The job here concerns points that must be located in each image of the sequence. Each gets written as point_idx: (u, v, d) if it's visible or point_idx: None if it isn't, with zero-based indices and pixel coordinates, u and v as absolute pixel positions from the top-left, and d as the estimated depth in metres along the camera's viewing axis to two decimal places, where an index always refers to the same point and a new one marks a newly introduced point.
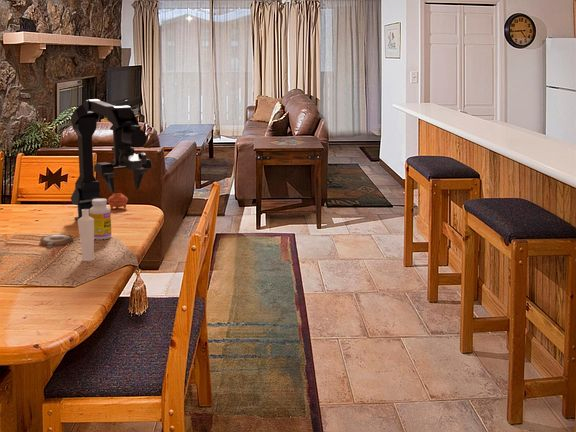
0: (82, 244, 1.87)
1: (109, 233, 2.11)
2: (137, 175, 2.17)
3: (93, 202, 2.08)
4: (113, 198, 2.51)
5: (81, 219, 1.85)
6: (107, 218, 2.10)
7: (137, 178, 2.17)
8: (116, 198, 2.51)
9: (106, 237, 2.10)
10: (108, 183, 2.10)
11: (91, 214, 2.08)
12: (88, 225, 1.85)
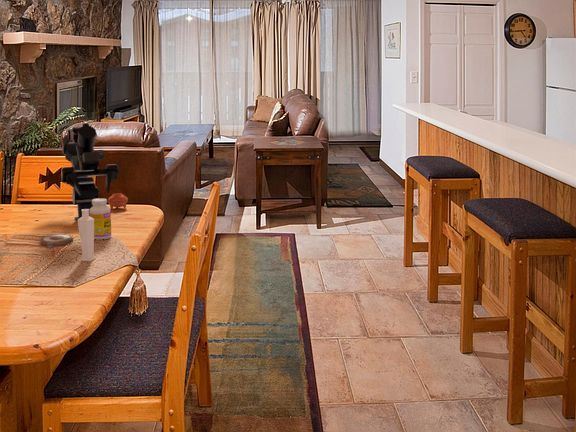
0: (82, 244, 1.87)
1: (109, 233, 2.11)
2: (106, 180, 2.21)
3: (93, 202, 2.08)
4: (113, 198, 2.51)
5: (81, 219, 1.85)
6: (107, 218, 2.10)
7: (106, 182, 2.20)
8: (116, 198, 2.51)
9: (106, 237, 2.10)
10: (75, 187, 2.16)
11: (91, 214, 2.08)
12: (88, 225, 1.85)
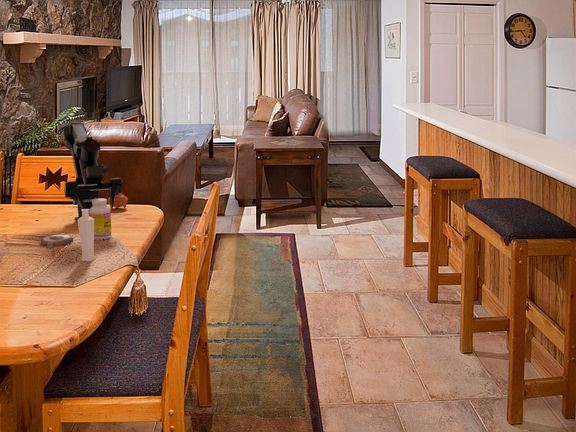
0: (82, 244, 1.87)
1: (109, 233, 2.11)
2: (110, 194, 2.16)
3: (93, 202, 2.08)
4: None
5: (81, 219, 1.85)
6: (107, 218, 2.10)
7: (110, 196, 2.16)
8: (116, 198, 2.51)
9: (106, 237, 2.10)
10: (78, 202, 2.12)
11: (91, 214, 2.08)
12: (88, 225, 1.85)
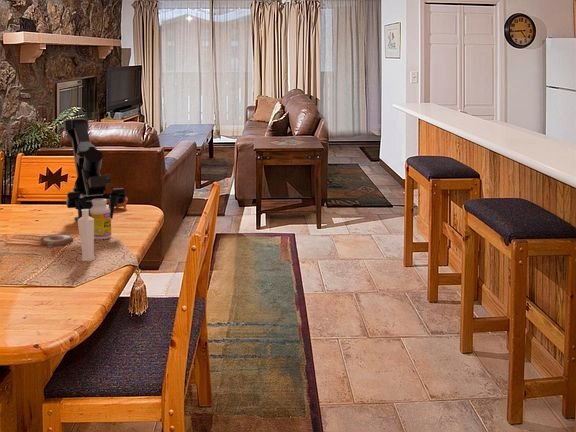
0: (82, 244, 1.87)
1: (109, 233, 2.11)
2: (110, 205, 2.13)
3: (93, 202, 2.08)
4: None
5: (81, 219, 1.85)
6: (107, 218, 2.10)
7: (110, 207, 2.13)
8: None
9: (106, 237, 2.10)
10: None
11: (91, 214, 2.08)
12: (88, 225, 1.85)
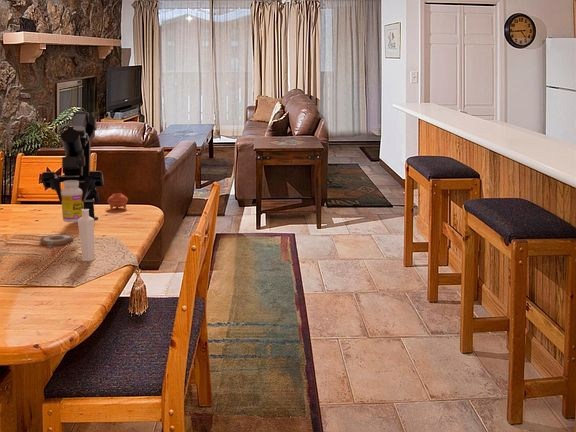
0: (82, 244, 1.87)
1: (79, 217, 2.05)
2: None
3: (63, 183, 2.03)
4: (113, 198, 2.51)
5: (81, 219, 1.85)
6: (77, 201, 2.03)
7: None
8: (116, 198, 2.51)
9: (76, 220, 2.04)
10: None
11: (61, 195, 2.03)
12: (88, 225, 1.85)
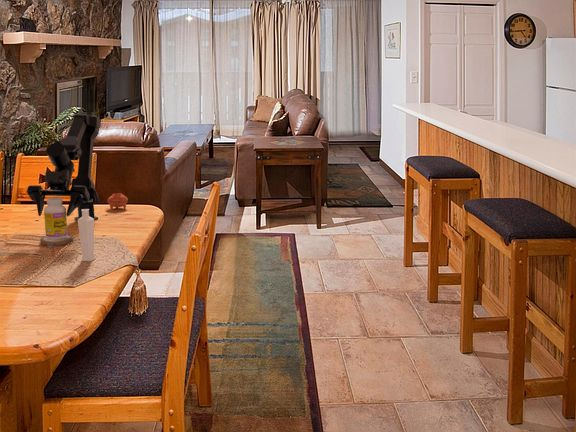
0: (82, 244, 1.87)
1: (61, 234, 2.04)
2: None
3: None
4: (113, 198, 2.51)
5: (81, 219, 1.85)
6: (58, 218, 2.03)
7: None
8: (116, 198, 2.51)
9: (56, 238, 2.04)
10: None
11: (44, 212, 2.04)
12: (88, 225, 1.85)
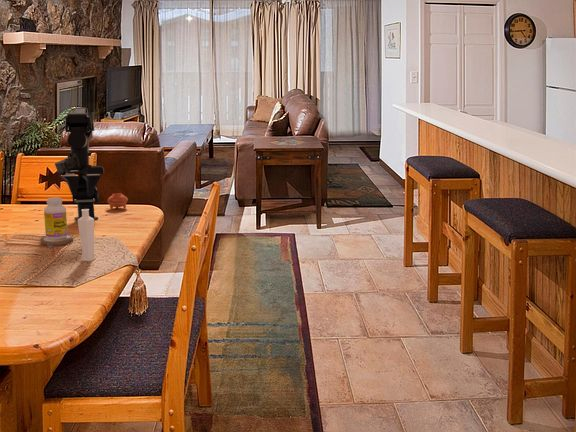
0: (82, 244, 1.87)
1: (61, 234, 2.04)
2: None
3: None
4: (113, 198, 2.51)
5: (81, 219, 1.85)
6: (58, 218, 2.03)
7: None
8: (116, 198, 2.51)
9: (56, 238, 2.04)
10: None
11: (44, 213, 2.04)
12: (88, 225, 1.85)
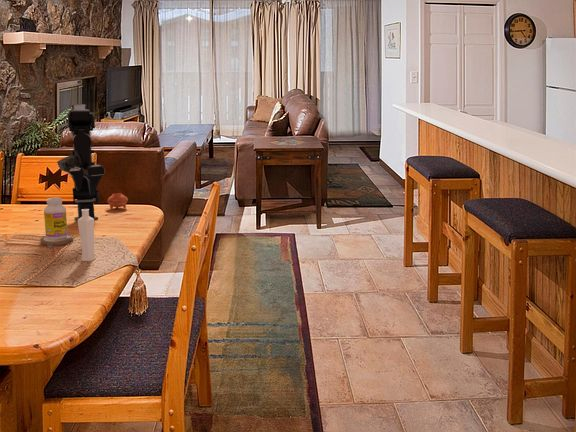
0: (82, 244, 1.87)
1: (61, 234, 2.04)
2: None
3: None
4: (113, 198, 2.51)
5: (81, 219, 1.85)
6: (58, 218, 2.03)
7: None
8: (116, 198, 2.51)
9: (56, 238, 2.04)
10: None
11: (44, 213, 2.04)
12: (88, 225, 1.85)
